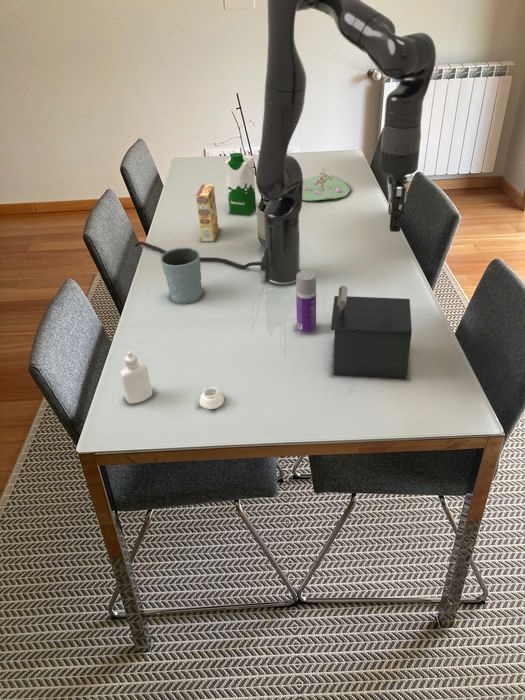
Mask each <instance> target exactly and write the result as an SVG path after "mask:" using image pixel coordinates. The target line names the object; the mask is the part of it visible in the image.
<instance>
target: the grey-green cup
mask: <svg viewBox="0 0 525 700" xmlns="http://www.w3.org/2000/svg"><path fill="white" fill-rule="evenodd" d="M166 251H167V252H165V253H162V255H161V256H160V263H161V266H162V270H163V274H164V275H165V280H166V283H167V287H168V291H169V296H170V298H171V300H172V301H173V302H174V303H177V304H182V305H183V304H193V303H195V302H197V301H199V300H200V299H201V297H203V287H202V286H203V285H202V272H201V270H202V268H201V261H200V257H201V253H200V252H199V250H197V249H196V248H193V247H188V246H187V247H186V246H185V247H184V246H183V247H177V248H176V247H175V248H171V249H169V250H166Z"/></svg>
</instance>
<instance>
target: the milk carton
mask: <svg viewBox="0 0 525 700" xmlns="http://www.w3.org/2000/svg"><path fill="white" fill-rule="evenodd" d="M251 165H252V166H253V167H254V168H255V156H254V155H244V154H243V153H241V152H234V153H231V154H230V156H229V157H228V158H227V159H226V160H225V161H224V169H225V176H226V188H227V197H228V198H227V199H228V207H229V214H230V215H237V216H248V217H249V216H250V215H251V214H252V213H253V212H254V210H255V209H256V208H257V201H256V199H257V198H256V179H255V170H254V171H253V168H252V167H251Z"/></svg>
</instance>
